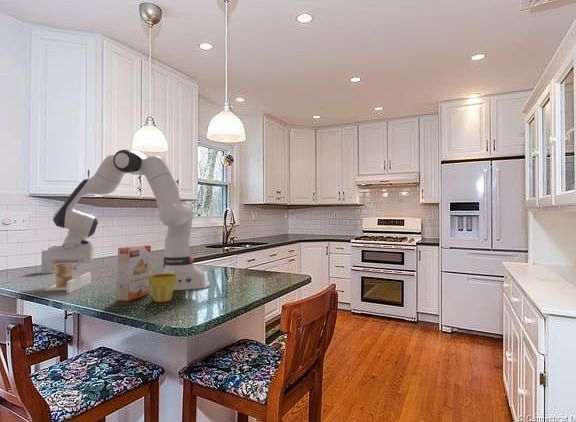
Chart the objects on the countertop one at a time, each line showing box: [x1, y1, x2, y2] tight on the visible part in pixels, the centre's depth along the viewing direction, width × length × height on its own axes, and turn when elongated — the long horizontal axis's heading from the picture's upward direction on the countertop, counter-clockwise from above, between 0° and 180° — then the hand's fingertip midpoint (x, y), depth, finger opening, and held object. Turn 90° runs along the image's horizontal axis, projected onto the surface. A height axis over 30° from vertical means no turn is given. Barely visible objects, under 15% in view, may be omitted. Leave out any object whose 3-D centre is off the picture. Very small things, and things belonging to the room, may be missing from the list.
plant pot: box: [149, 273, 176, 303], centre depth 138 cm, size 10×10×10 cm
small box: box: [40, 249, 60, 274], centre depth 199 cm, size 8×6×13 cm
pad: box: [43, 284, 67, 292], centre depth 159 cm, size 11×12×1 cm
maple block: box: [55, 263, 73, 287], centre depth 159 cm, size 5×4×10 cm
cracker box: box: [116, 244, 152, 302], centre depth 142 cm, size 14×6×21 cm, turn 168°
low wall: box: [66, 272, 92, 294], centre depth 159 cm, size 1×24×5 cm, turn 10°
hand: (63, 269), depth 158 cm, fingers open, 8 cm apart
